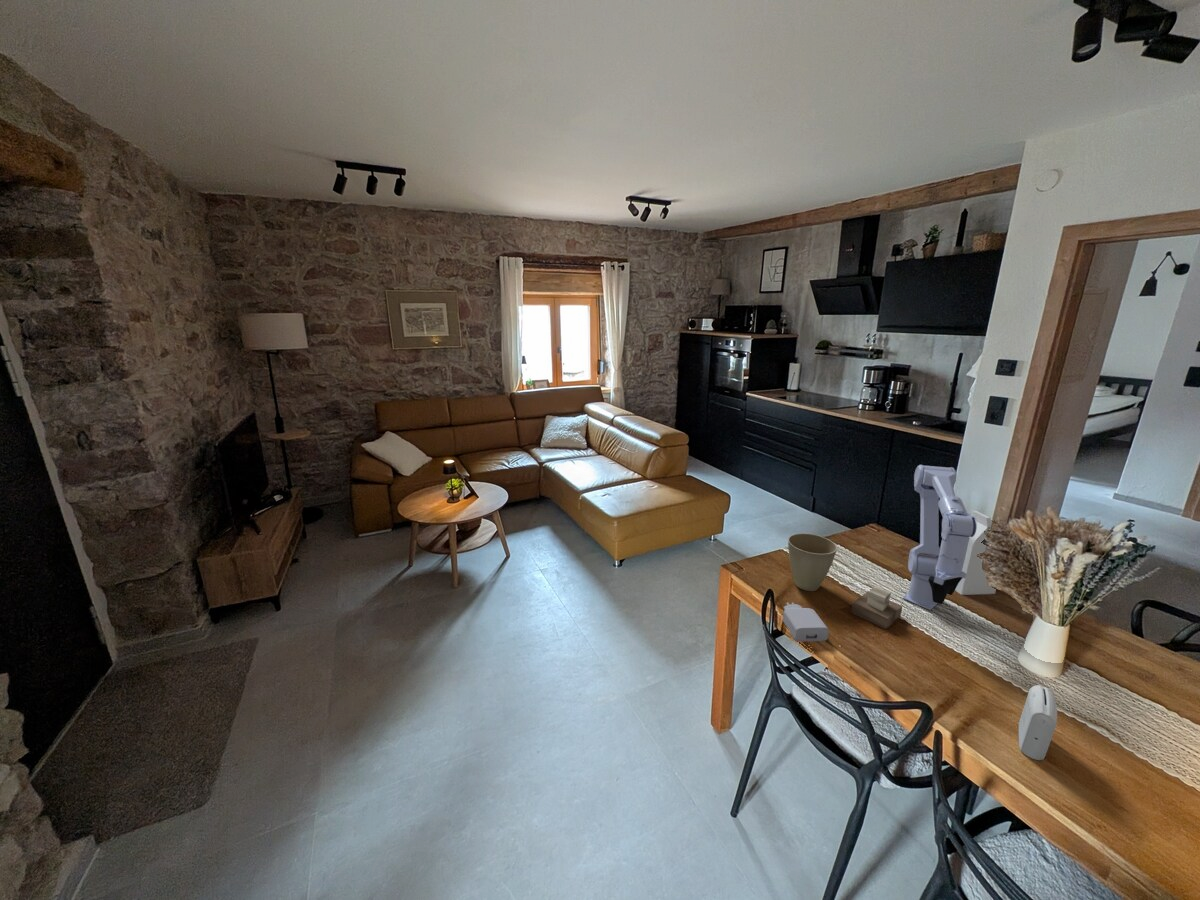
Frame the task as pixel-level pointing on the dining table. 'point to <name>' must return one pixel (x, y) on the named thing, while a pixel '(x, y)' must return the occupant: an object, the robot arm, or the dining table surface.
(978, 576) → the milk
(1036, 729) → the photo printer
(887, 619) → the walnut block
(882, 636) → the dining table surface
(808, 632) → the charger
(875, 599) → the maple cube
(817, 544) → the plant pot
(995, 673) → the dining table surface
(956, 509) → the robot arm
